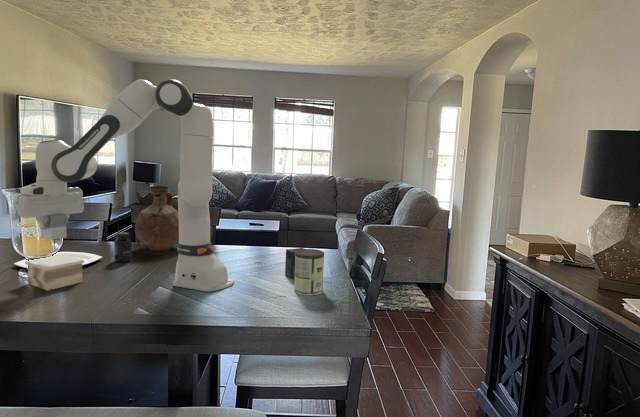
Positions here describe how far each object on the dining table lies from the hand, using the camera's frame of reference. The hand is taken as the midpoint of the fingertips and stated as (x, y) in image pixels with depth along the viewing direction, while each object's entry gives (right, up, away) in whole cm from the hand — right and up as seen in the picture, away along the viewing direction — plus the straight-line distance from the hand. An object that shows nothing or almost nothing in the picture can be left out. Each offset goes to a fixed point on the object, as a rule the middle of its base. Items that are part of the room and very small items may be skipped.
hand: (53, 228), depth 150 cm
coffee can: (+87, -23, +5) cm, 90 cm away
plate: (-14, -16, +27) cm, 34 cm away
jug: (+15, -13, +58) cm, 61 cm away
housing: (0, -3, 0) cm, 3 cm away
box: (+82, -20, +23) cm, 88 cm away
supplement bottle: (+9, -16, +34) cm, 39 cm away
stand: (-1, -19, +2) cm, 19 cm away
